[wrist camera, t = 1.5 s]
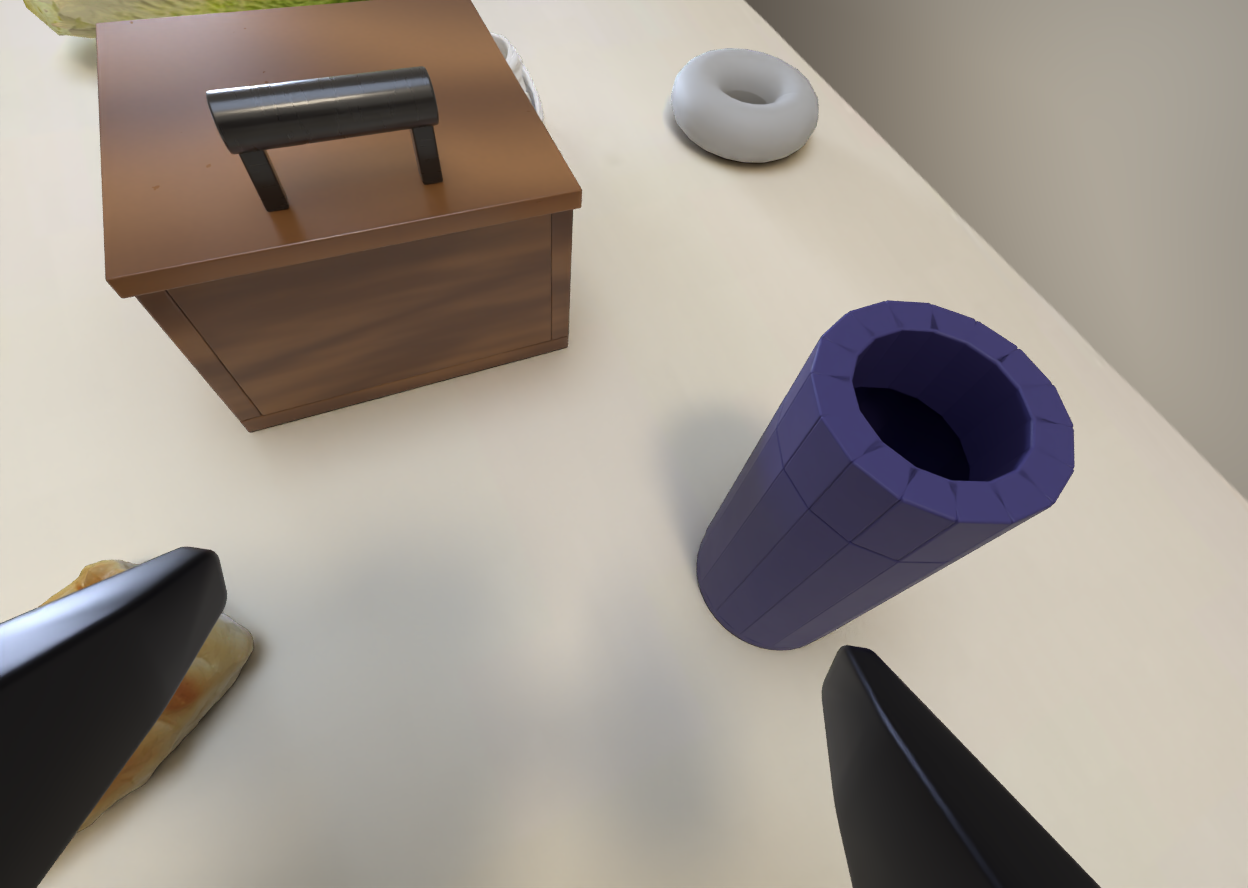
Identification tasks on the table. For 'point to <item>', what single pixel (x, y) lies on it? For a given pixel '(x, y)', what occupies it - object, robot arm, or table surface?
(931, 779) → the robot arm
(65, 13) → the lettuce
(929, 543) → the purple hollow cylinder
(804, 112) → the donut
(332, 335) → the bread box
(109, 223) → the bread box lid
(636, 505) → the table surface
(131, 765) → the pastry
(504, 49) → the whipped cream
